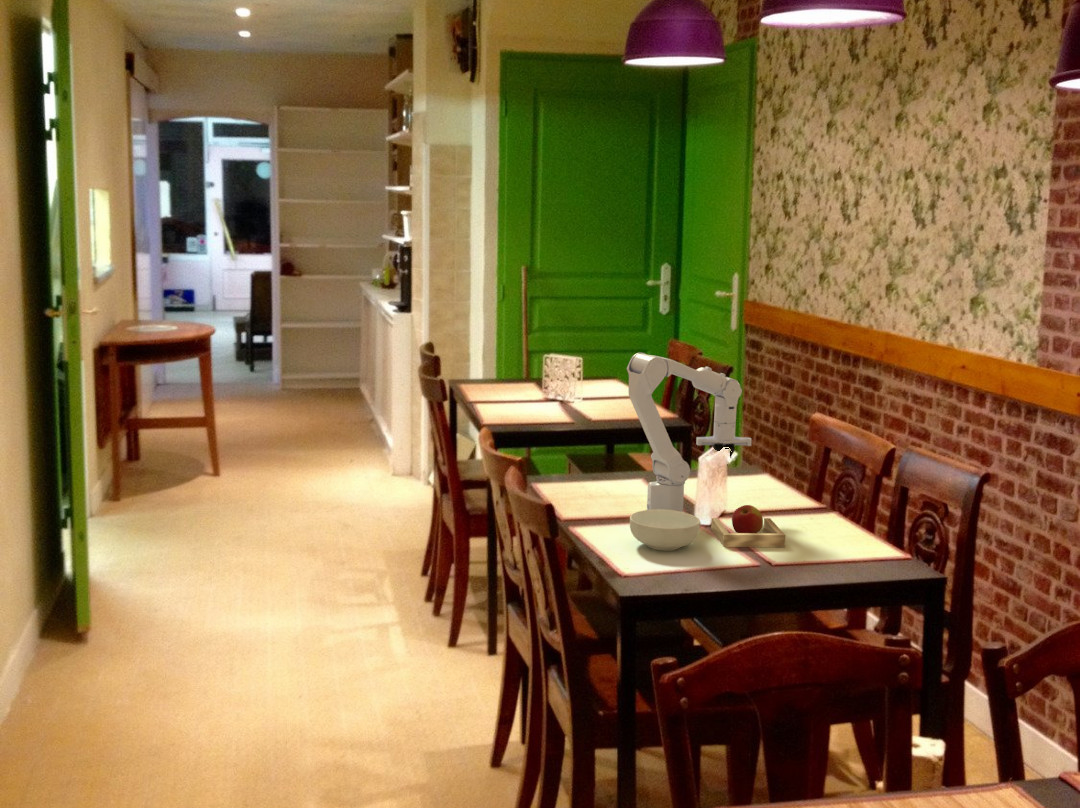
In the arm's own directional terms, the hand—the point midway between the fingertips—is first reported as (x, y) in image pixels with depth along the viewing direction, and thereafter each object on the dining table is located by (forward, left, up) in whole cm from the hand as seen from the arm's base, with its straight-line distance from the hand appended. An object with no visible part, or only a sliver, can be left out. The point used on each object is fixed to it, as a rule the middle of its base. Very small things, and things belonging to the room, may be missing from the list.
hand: (722, 471), depth 341 cm
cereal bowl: (-21, -35, -11) cm, 42 cm away
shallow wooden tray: (+1, -27, -10) cm, 29 cm away
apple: (+1, -26, -11) cm, 28 cm away
